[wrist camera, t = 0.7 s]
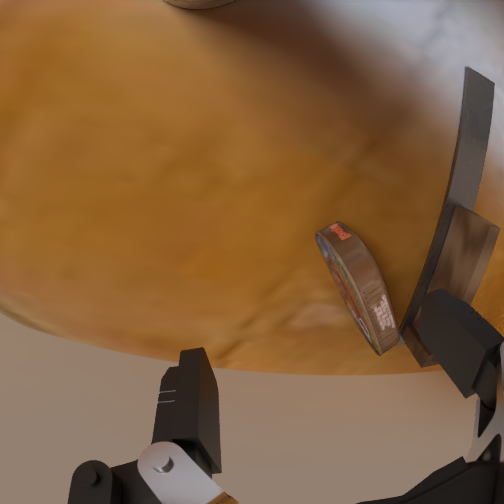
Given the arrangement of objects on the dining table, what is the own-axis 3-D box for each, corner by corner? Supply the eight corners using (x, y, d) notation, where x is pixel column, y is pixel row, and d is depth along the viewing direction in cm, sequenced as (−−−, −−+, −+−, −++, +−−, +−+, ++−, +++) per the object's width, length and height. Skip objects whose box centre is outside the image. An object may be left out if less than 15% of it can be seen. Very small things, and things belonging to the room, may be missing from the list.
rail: (465, 66, 22) (468, 66, 21) (491, 82, 22) (494, 83, 22) (392, 342, 37) (394, 345, 37) (419, 339, 38) (420, 341, 38)
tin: (304, 219, 28) (335, 263, 21) (333, 204, 28) (373, 241, 20) (353, 322, 35) (381, 372, 27) (376, 309, 34) (407, 357, 27)
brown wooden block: (449, 204, 28) (485, 225, 23) (471, 209, 29) (504, 229, 23) (401, 336, 36) (421, 367, 31) (422, 334, 37) (443, 362, 31)
